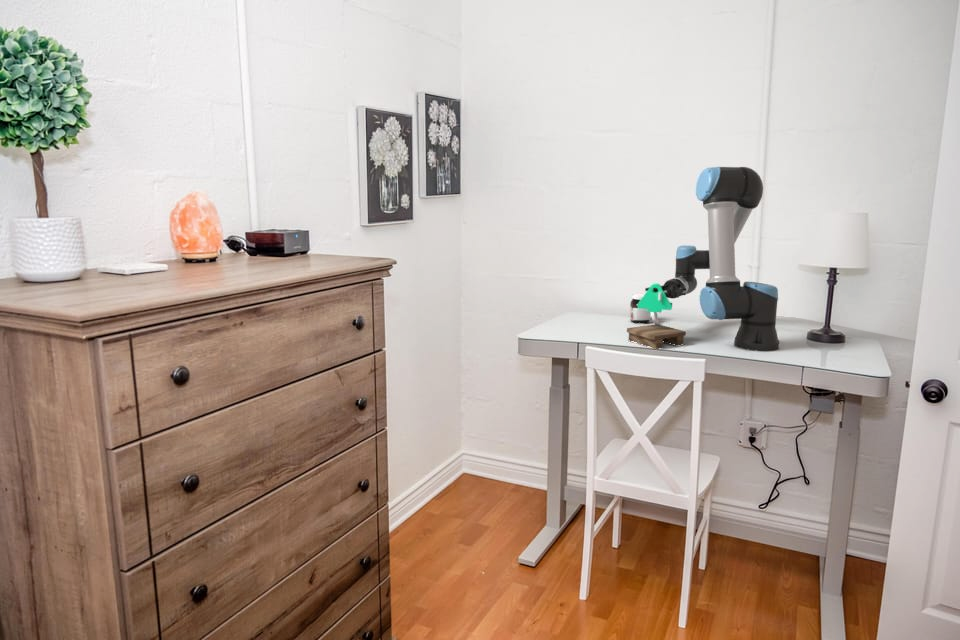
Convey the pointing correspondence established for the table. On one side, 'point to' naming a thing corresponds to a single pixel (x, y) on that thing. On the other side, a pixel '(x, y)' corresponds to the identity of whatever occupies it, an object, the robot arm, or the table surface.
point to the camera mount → (654, 300)
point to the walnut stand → (656, 335)
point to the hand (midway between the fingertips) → (652, 295)
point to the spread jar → (640, 311)
